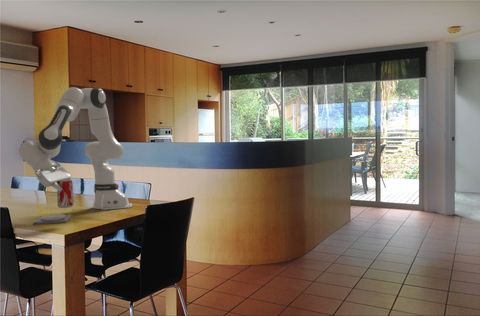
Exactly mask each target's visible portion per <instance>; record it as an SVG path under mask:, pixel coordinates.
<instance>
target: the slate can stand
mask: <svg viewBox="0 0 480 316" xmlns="http://www.w3.org/2000/svg"><path fill="white" fill-rule="evenodd" d="M71 218H72V214H66V215H65V214H63V213H53V214H52V213H51V214H44V215H42V216H39V217H38V218H37V219H36V220H34V221H33V225H47V224H48V225H51V224H66V223H68V222H69V220H70V219H71Z"/></svg>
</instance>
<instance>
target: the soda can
mask: <svg viewBox="0 0 480 316" xmlns="http://www.w3.org/2000/svg"><path fill="white" fill-rule="evenodd" d="M57 184H58V185H59V186H62V188H63V190H62V191H58V190H57V189H56V190H57V195H56V196H57V206H58V208H60V209H67V208H68V209H69V208H73V206H74V202H75V201H74V183H73V179H64V180H61V181H58V183H57Z"/></svg>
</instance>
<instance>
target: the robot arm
mask: <svg viewBox="0 0 480 316" xmlns="http://www.w3.org/2000/svg"><path fill="white" fill-rule="evenodd" d="M106 102H107V95H106V92H105V91H104V90H103V89H102V88H99V87H94V88H93V87H84V88H78V87H75V86H72V87H69V88H67V89H66V90H65V91H64V93H63V94H62V95H61V97H60V99H59V101H58V102H57V105H56V108H55V113H54V115H53V117H52V118H51V121H50V122H49V123H48V125H46V127H44V128H43V129H42V130H41V131H40V132H39V134H38V140H37V139H36V140H30V139H28V140H25V141H23V142H22V143H21V144H20V145H19V148H18V154H19V156H20V157H21V159H22V160H23V161H24V162H25V163H26V164H27V165H28V166H30V167H31V168H32V170H33V171H34V175H36V179H37V180H38V182H39V183H40V184H41V185H42V186H43V187H45V188H49V187H52V188H53V189H55V190H58V191H62V190H63V188H62V186H59V185H58V184H57V183H58V181H61V180H64V179H70V180H72V175H71V174H70V172H68V170H67V169H65V167H64V166H62V164H61V162H58V161H56V160H55V161H54V160H52V159H53V158H55V157H57V156H59V154H60V152H61V145H62V140H63V134H62V133H63V129H64V127H65V126H66V123H67V122H74V121H75V119H76V118H77V117H78V115H79V114H80V112H81V109H82V110H83V109H87V111H88V112H87V113H88V120H89V121H88V122H89V128H90V132H91V134H92V135H93V136H94V137H96V139H97V141H92V142H89V143H87V144H86V145H85V148H84V154H85V156H86V157H87V158H88V159H89V160H90V162H91V164H92V167H93V171H94V185H93V191H94V200H93V206H92V208H93V209H97V210H101V211H103V210H104V211H106V210H107V211H108V210H116V209H117V210H119V209H129V208H132V207H133V203H131V202H129V198H128V195H127V194H126V193H124V192H123V191H121V190H120V189H119V184H118V183H116V182H115V169H114V168H113V167H112V166H111V164H110V163H109V161H117V160H120V159H121V158H122V157H123V155H124V152H125V151H124V150H125V149H124V146H123V144H121V143H120V142H119V141H118V140H117V139H116V138H115V136H114V133H113V130H112V127H111V123H110V115H109V113H108V108H107V104H106Z"/></svg>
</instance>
